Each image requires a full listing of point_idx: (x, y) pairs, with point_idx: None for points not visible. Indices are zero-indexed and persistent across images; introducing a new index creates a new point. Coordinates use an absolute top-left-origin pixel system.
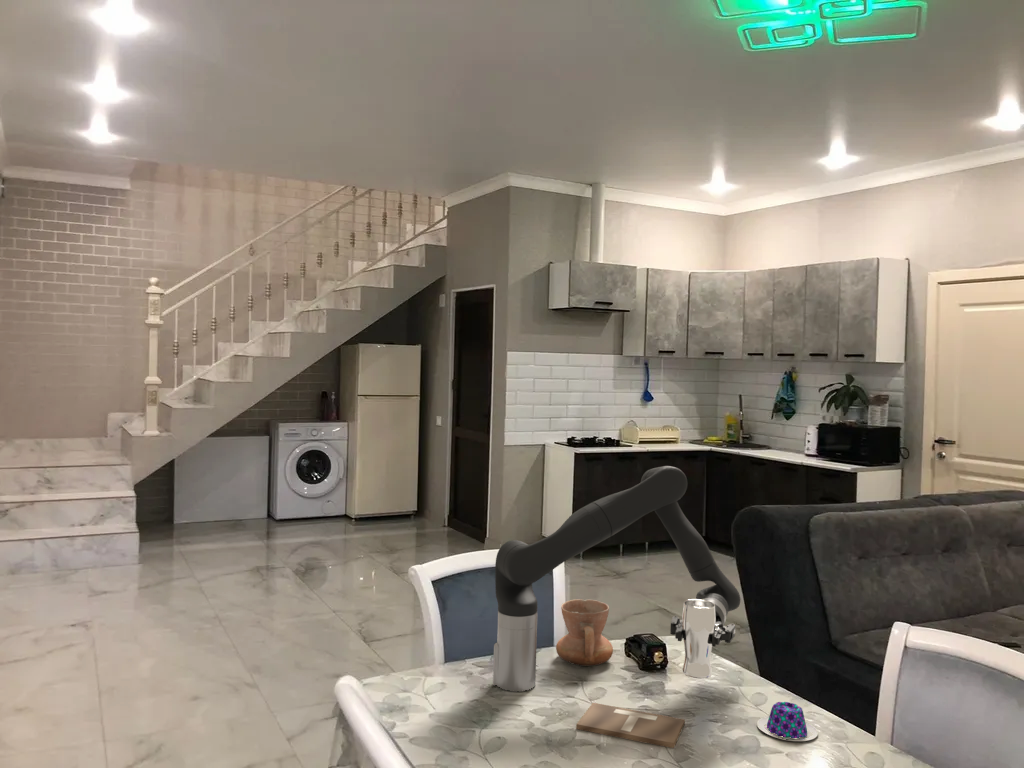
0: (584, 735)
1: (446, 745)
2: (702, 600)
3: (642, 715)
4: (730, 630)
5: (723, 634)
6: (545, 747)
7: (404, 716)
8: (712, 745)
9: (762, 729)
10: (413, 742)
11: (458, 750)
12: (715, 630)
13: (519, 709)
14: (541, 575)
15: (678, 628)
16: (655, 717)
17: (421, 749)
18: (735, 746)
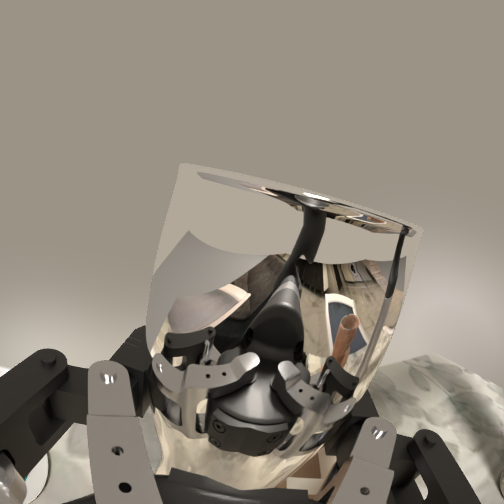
0: None
1: (439, 369)
2: (312, 197)
3: (317, 487)
4: (28, 362)
5: (86, 371)
6: (383, 386)
7: (494, 389)
8: None
9: (41, 465)
10: (455, 366)
11: (427, 366)
12: (130, 391)
13: (465, 442)
14: None
15: (372, 415)
16: (290, 487)
17: (443, 361)
18: None
